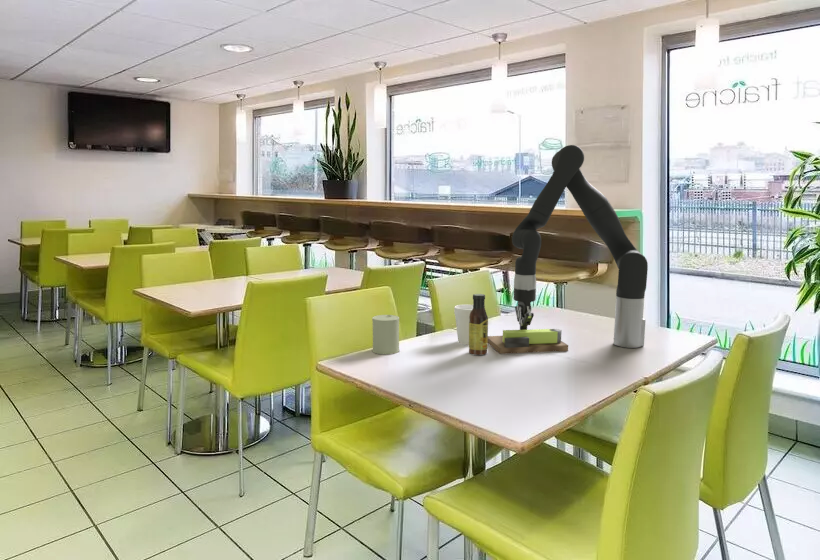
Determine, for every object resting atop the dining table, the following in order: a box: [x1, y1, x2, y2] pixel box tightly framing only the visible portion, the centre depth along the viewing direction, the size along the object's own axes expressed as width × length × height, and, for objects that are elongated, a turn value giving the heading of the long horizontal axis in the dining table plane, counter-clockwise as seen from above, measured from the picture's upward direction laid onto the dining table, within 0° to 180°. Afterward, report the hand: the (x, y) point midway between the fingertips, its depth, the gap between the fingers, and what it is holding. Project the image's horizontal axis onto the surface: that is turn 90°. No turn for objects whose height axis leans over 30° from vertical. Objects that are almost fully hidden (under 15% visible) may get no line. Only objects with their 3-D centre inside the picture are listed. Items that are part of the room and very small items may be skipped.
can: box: [371, 314, 400, 355], centre depth 193 cm, size 9×9×12 cm
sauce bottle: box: [468, 293, 489, 356], centre depth 189 cm, size 7×6×20 cm
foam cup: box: [453, 304, 473, 346], centre depth 203 cm, size 10×9×13 cm
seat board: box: [488, 335, 569, 355], centre depth 199 cm, size 24×16×5 cm, turn 99°
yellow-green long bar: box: [502, 328, 562, 344], centre depth 195 cm, size 20×4×4 cm, turn 96°
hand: (523, 335), depth 199 cm, fingers closed
